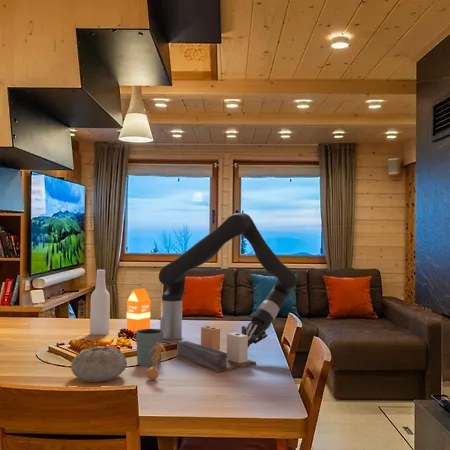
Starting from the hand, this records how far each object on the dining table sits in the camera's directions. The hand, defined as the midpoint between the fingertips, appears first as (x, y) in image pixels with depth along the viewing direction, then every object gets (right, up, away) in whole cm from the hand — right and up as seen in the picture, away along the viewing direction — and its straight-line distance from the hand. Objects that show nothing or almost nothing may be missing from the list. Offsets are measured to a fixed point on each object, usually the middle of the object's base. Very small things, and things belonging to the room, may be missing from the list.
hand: (242, 349), depth 182 cm
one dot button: (-2, -3, -2) cm, 4 cm away
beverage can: (-36, -6, +72) cm, 81 cm away
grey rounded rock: (-48, -4, -22) cm, 53 cm away
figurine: (-30, -4, -22) cm, 37 cm away
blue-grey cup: (-34, -4, -3) cm, 35 cm away
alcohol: (-65, -5, +47) cm, 81 cm away
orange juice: (-49, -5, +58) cm, 76 cm away
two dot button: (-12, -3, +11) cm, 17 cm away
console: (-10, -5, +2) cm, 11 cm away
